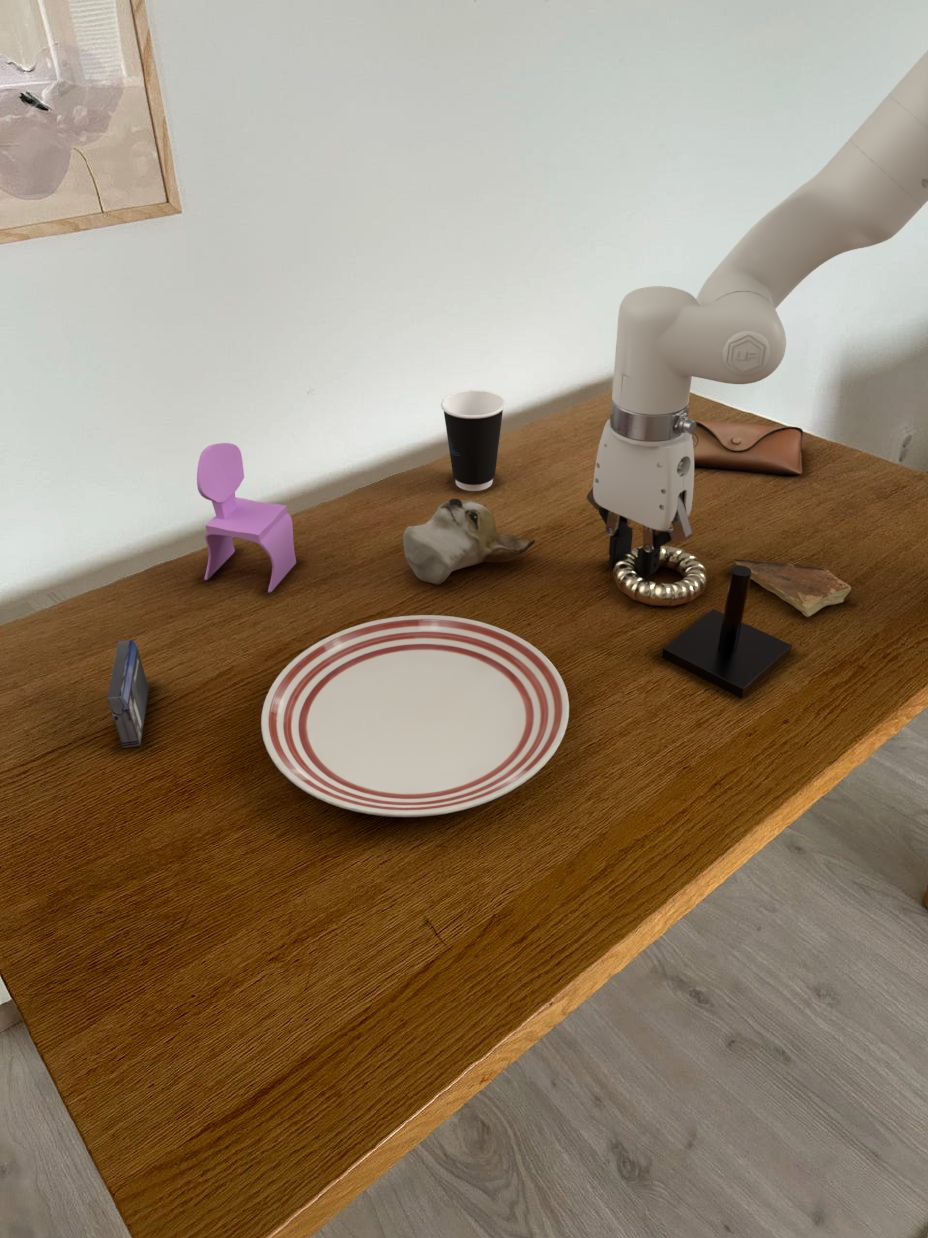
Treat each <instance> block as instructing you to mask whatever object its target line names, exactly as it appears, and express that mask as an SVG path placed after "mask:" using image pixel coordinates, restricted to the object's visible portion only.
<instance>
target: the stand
mask: <svg viewBox="0 0 928 1238" xmlns="http://www.w3.org/2000/svg"><path fill="white" fill-rule="evenodd" d="M750 578H751V569H750V568H748V567H746V566H742V565H737V566H736V565H734V566H732V568H731V571H730V576H729V581H728V587H727V593H726V600H725V605H724V610H723V612H721V611H720V610H717V609H714V608H713V609H711V610H710V611H709V612H708V613H706V614H705V615H704V616H702V617H701V618H700V619H698V620H697V621H696V622H694V623H693V624H692V625H690V627H688V628H687V629H686V630H685V631H683V632H682V633H680V635H678V636H677V637H675V638H674V639H673V640H672V641H670V642H669V643H668V644H666V645H665V646H664V647H663V648H662V653H661V658H662V659H664V660H666V661H668V662H670V663H671V664H674V665H676V666H678V667H680V668H682V669H683V670H685V671H687V672H690V673H691V674H693V675H695V676H697V677H699V678H701V679H704V680H705V681H707V682H709V683H710V684H713V685H714V686H717V687H719V688H720V689H722V690H724V691H726V692H728V693H730V694H732V695H734V696H736V697H738V698H740V699H743V698H744V697H745V696H746V695H747V694H748V693H749V692H750V691H751V690H752V689H754V688H755V687H756V686H757V685H758V684H759V683H760V682H762V680H764V679H765V678H766V677H767V676H768V675H769V674H770V673H771V672H772V671H773V670H775V669H776V668H777V667H778V666H779V665H780V664H782V663H783V661H784V660H786V659H787V658H788V657H789V656H790V655H791V651H792V648H793V647H792V646H793V645H792V644H790V643H788V642H786V641H783V640H782V639H779V638H777V637H775V636H773V635H771V634H769V633H766V632H764V631H762V630H760V629H758V628H755V627H754V626H752V625H749V624H747V623H745V622H743V618H744V614H745V608H746V603H747V599H748V592H749V589H750V582H751V579H750Z"/></svg>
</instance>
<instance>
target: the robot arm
mask: <svg viewBox="0 0 928 1238" xmlns="http://www.w3.org/2000/svg"><path fill="white" fill-rule="evenodd" d="M927 202H928V50H926V51H925V52H924V53H923V54H922V56H921V57H920V58H919V59H918V60H917V62H915V63H914V65H913V66H912V67H911V68H910V69H909V71H907V73H906V74H905V75H904V76H903V77H902V79H901V80H900V81H899V82H898V83H897V84H896V85H895V86H894V87H893V89H892V90H891V91H890V92H889V93H888V94H887V95H886V96H885V98H884V99H883V100H882V101H881V102H880V103H879V105H878V106H877V107H876V108H875V109H874V110H873V111H872V113H870V115H869V116H868V117H867V118H866V119H865V121H864V122H863V123H862V124H861V125H860V126H859V127H858V129H856V131H854V133H853V134H852V135H851V137H850V138H849V139H848V140H847V141H846V142H845V143H844V144H843V145H842V146H841V148H839V150H838V151H837V152H836V153H835V154H834V156H833V157H831V159H830V160H829V161H828V162H827V163H826V165H824V167H822V169H821V170H820V171H819V172H817V173H816V175H815V176H813V177H812V178H810V179H809V180H808V181H806V182H805V183H803V184H802V185H800V186H799V187H798V188H797V189H795V191H793V192H792V193H791V194H790V195H789V196H787V197H786V198H785V199H784V200H783V201H781V202H780V203H779V204H777V205H776V206H775V207H774V208H772V209H771V210H770V211H768V212H767V213H766V214H765V215H764V216H763V217H761V218H760V219H759V220H758V222H756V223H755V224H754V225H753V226H752V227H751V228H750V229H749V230H748V231H747V232H746V233H745V234H744V236H743V237H742V238H741V239H740V240H739V241H738V242H737V243H736V245H734V247H733V248H732V249H731V250H730V251H729V253H728V254H727V255H726V256H725V257H724V259H722V261H721V262H720V263H719V264H718V265H717V266H716V268H715V269H714V270H713V271H712V272H711V273H710V275H709V276H708V278H707V279H706V280H705V281H704V283H703V284H702V286H701V288H700V290H699V292H698V293H697V296H696V297H695V296H694V295H693V294H692V293H690V292H688V291H686V290H684V289H681V288H677V287H672V286H662V285H659V286H658V285H657V286H656V285H655V286H645V287H644V286H643V287H639V288H636V289H634V290H631V291H630V292H628V293H627V294H626V295H625V296H624V297H623V299H622V300H621V302H620V305H619V309H618V316H617V317H618V318H617V329H616V340H615V341H616V342H615V352H614V353H615V355H614V356H615V357H614V365H613V367H614V369H613V380H612V392H611V401H610V402H611V404H610V417H609V419H607V420H606V422H605V424H604V427H603V430H602V432H601V437H600V440H599V444H598V448H597V452H596V459H595V464H594V472H593V481H592V487H591V489H590V490H589V492H588V494H587V495H586V500H587V502H589V503H590V505H592V506H593V508H594V509H595V510H596V511H598V514H599V516H600V517H601V519H602V520H603V522H604V524H605V533H606V534H607V535H608V536H609V545H608V547H609V548H608V556H609V559H608V567H609V568H610V569H612V570H613V569H614V567H615V564H616V561H617V559H618V558H619V557H620V556H621V555H623V554H624V553H626V552H627V551H629V550H630V549H632V546H633V535H634V531H633V527H630V526H629V525H630V522H631V521H632V522H634V523H638V524H639V525H642V546H643V547H641V546H640V547H641V548H640V549H639V550H638V552H637V562H636V574H637V575H638V576H640V577H641V578H643V579H644V580H646V578H648V577H649V576H651V575H653V574H655V573H656V572H657V570H658V569H659V567H660V566H659V557H660V549H661V546H663V545H667V544H668V543H680V542H682V543H683V542H686V541H687V540H688V539H690V538H691V537H693V530H692V527H691V522H690V521H689V516H690V515H691V512H692V508H693V498H694V487H695V486H694V485H695V466H694V449H693V441H692V435H691V434H692V433H693V432H694V430H695V428H696V421H693V420H694V419H693V420H691V419H692V418H690V417H689V410H690V406H689V402H690V394H691V385H692V377H694V378H699V379H704V380H709V381H714V382H718V383H724V384H731V385H748V384H753V383H757V382H760V381H763V380H764V379H766V378H768V377H769V376H770V375H772V374H773V373H774V372H775V371H776V370H778V367H779V366H780V365H781V363H782V361H783V359H784V356H785V353H786V349H787V338H786V332H785V327H784V326H783V323H782V320H781V318H780V316H779V315H778V312H777V310H776V309H777V308H778V307H779V306H780V304H781V303H782V302H783V301H784V300H785V299H786V298H787V297H788V296H789V295H790V294H791V293H792V292H793V291H794V290H795V289H796V287H798V285H799V284H800V283H802V281H804V280H805V279H806V278H807V277H808V276H809V275H810V274H811V273H812V272H814V271H815V270H816V269H817V268H819V267H820V266H822V265H823V264H824V263H826V262H828V261H830V260H831V259H833V258H835V257H837V256H839V255H841V254H844V253H847V252H850V251H854V250H859V249H863V248H868V247H869V248H870V247H872V246H875V245H876V246H877V245H878V244H881V243H884V242H886V241H888V240H891V239H892V238H893V237H894V236H896V235H897V234H898V233H899V232H900V231H901V230H902V229H903V228H904V227H905V226H906V224H908V223H909V221H911V220H912V218H913V217H914V216H915V215H916V214H917V213H918V212H919V211H920V210H921V209H922V208H923V206H924V205H926V204H927ZM671 524H672V526H671Z"/></svg>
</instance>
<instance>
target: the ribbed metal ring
mask: <svg viewBox="0 0 928 1238" xmlns="http://www.w3.org/2000/svg"><path fill="white" fill-rule="evenodd" d="M641 547H643V545H641V546H636V547H633V548H632V547H631V549H630V550H629V551H627V552H626V553H624V554H623V555H621V556H620V557H619V558H618V559H617V561H616V564H615V567H614V569H612V577H613V579H614V582H615V584H616V586H617V588H618V589H619V590H620V591H621V592H622V593H623V594H624V595H626V596H627V597H629V598H630V599H631V600H634V601H635V602H639V603H643V604H646V605H649V606H652V607H653V606H655V607H675V606H679V605H684V604H688V603H691V602H692V601H694V600H696V598H698V597H699V596H700V595H702V593H704V591H705V590H706V588H707V587H706V586H707V584H708V583H707V582H708V578H709V575H708V574H709V573H708V571H707V569H706V567H705V566H704V564H703V563H702V561H701V560H700V559H699V558H698V557H696V555H694V554H692V553H690V552H688V550H686V549H683V548H678V547H676V546H671V545H667V544H665V545H663V546H661V549H660V557H659V566H658V567H663V568H667V569H669V570H670V569H671V570H674V571H676V572H678V573H679V574H680V575H682V576H683V578H682V579H681V580H678V581H675V582H670V583H667V582H666V583H665V582H664V583H663V582H654V581H650V580H647V579H643V578H641V577H640V576H638V575H637V574H636V562H637V552H638V550H639V549H640V548H641Z"/></svg>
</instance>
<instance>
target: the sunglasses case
mask: <svg viewBox="0 0 928 1238" xmlns="http://www.w3.org/2000/svg"><path fill="white" fill-rule="evenodd" d="M690 419H691V420H693V421H696V428H695V430H694V432H693V433H692V434H691V435H692V441H693V449H694V467H703V468H713V469H714V468H715V469H723V470H734V471H742V472H750V473H761V474H777V475H802V474H803V473H804V471H803V465H802V464H803V463H802V461H803V459H802V458H803V457H802V442H803V435H804V430H803V428H801V427H798V426H792V425H791V426H790V425H789V426H769V425H761V424H754V423H753V424H751V423H743V422H742V423H741V422H730V421H729V422H728V421H716V420H715V421H714V420H713V421H712V420H698V419H693V418H690Z"/></svg>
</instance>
